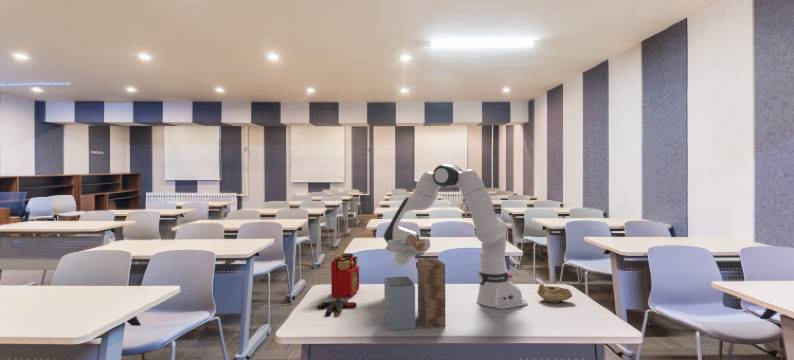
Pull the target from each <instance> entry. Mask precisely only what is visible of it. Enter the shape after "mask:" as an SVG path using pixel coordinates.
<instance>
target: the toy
mask: <svg viewBox="0 0 794 360" xmlns="http://www.w3.org/2000/svg"><path fill="white" fill-rule="evenodd" d="M351 308H352V309H354V308H357V302H355V301H354V302H353V301H350V302H349V301H348V300H341V297H338V298H337V299H335V300H330V301H325V302H323V301H322V302H321V303H320V304H318V305H316V309H317V310H325V309H326V311H325V312H326V313H325V316H326V317H330V316H331V315H332V313H333V312H334V314H335V315H336V316H340V315H341V313H342V311H343V309H351Z"/></svg>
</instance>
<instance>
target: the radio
mask: <svg viewBox="0 0 794 360" xmlns="http://www.w3.org/2000/svg"><path fill="white" fill-rule="evenodd" d="M358 261H359V259H358V256H354V253H343V254H342V255H341V254H337V255H335V258H334V260H332V261H331V263H330V265H331V266H330V269H331V270H330V274H331V279H330V280H331V281H330V282H331V287H330V289H331V290H330V291H331V294H330V295H331V298H332V297H333V298H334V299H335V298H337V299H338V298H344V299H345V298H346V299H347V298H349V297H353V296H354V295H355V294H356V293H357V292H358V291H359V290H360V266H359V265H357V264H358Z"/></svg>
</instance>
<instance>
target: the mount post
mask: <svg viewBox="0 0 794 360" xmlns="http://www.w3.org/2000/svg"><path fill="white" fill-rule="evenodd" d="M417 318H418V319H419V321H420V322H421V324H422V325H423V327H424V328H425V329H430V328H441V327H447V326H446V264H445V263H444V262H442V261H441V260H440V259H438V258H437V257H432V258H429V257H428V258H417Z"/></svg>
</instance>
